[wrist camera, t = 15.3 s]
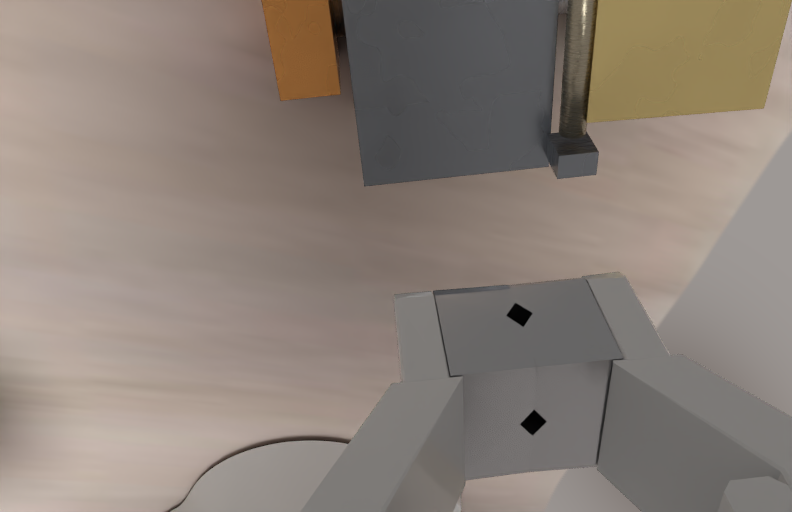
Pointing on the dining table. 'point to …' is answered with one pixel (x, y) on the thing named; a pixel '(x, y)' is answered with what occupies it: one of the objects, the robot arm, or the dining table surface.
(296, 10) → the orange piece
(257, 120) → the dining table surface
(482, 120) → the block
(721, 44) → the keeper flap
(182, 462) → the dining table surface
